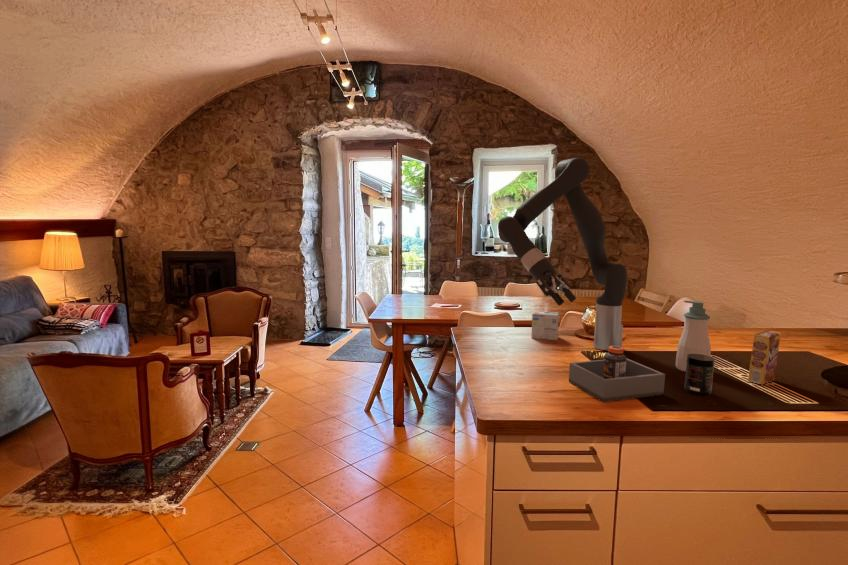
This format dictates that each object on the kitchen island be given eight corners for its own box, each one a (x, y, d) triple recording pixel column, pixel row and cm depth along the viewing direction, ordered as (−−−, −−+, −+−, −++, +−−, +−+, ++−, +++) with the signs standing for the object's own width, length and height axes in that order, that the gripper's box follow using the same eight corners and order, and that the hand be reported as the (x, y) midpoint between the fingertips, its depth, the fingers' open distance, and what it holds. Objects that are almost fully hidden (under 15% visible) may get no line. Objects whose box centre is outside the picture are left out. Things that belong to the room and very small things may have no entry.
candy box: (763, 386, 133) (769, 336, 131) (747, 382, 137) (752, 333, 134) (775, 380, 138) (781, 332, 136) (759, 376, 141) (764, 329, 139)
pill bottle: (599, 381, 133) (601, 344, 132) (617, 380, 134) (620, 344, 133) (609, 388, 128) (611, 350, 126) (628, 387, 128) (631, 349, 127)
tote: (623, 375, 141) (625, 357, 140) (663, 394, 126) (665, 374, 125) (568, 381, 136) (569, 362, 135) (603, 401, 121) (604, 380, 120)
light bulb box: (558, 336, 190) (559, 312, 188) (557, 340, 183) (558, 315, 182) (532, 334, 193) (533, 310, 192) (531, 338, 187) (532, 313, 185)
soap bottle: (680, 363, 154) (685, 298, 151) (713, 370, 147) (719, 302, 144) (671, 370, 147) (676, 302, 144) (705, 377, 140) (711, 306, 137)
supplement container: (713, 391, 128) (716, 356, 127) (709, 398, 123) (713, 362, 122) (686, 386, 133) (689, 352, 131) (681, 392, 127) (684, 357, 126)
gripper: (533, 258, 143) (566, 297, 137) (554, 255, 153) (585, 292, 147) (518, 273, 147) (549, 312, 141) (540, 270, 157) (569, 306, 151)
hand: (568, 302), depth 144 cm, fingers open, 8 cm apart
